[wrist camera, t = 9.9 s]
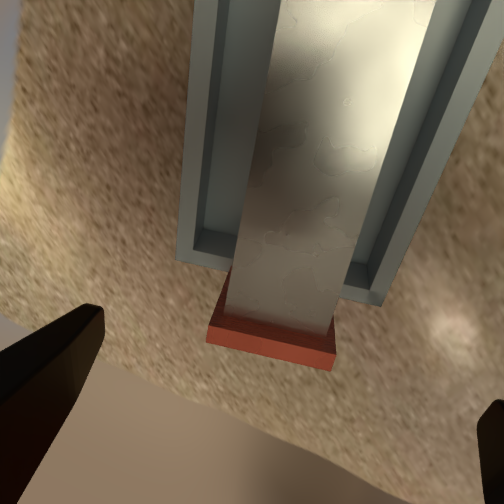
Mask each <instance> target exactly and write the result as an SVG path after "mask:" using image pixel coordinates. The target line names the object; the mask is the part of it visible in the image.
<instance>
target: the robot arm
mask: <svg viewBox="0 0 504 504" xmlns="http://www.w3.org/2000/svg"><path fill="white" fill-rule="evenodd" d="M104 336H105V320H104V309H103V308H102V307H101V306H97V305H93V304H89V303H85V304H82V305H81V306H79V307H77V308H75V309H74V310H72V311H70V312H68V313H67V314H65V315H63V316H61V317H60V318H58V319H56V320H54V321H53V322H51V323H49V324H47V325H46V326H44V327H42V328H40V329H39V330H37V331H35V332H33V333H32V334H30V335H28V336H26V337H25V338H23V339H21V340H20V341H18V342H16V343H14V344H12V345H11V346H9V347H7V348H5V349H4V350H2V351H0V504H17V502H18V501H19V499H20V497H21V495H22V494H23V492H24V490H25V488H26V487H27V485H28V483H29V482H30V480H31V478H32V476H33V475H34V473H35V471H36V470H37V468H38V466H39V465H40V463H41V461H42V459H43V458H44V456H45V454H46V453H47V451H48V449H49V447H50V446H51V444H52V442H53V440H54V439H55V437H56V435H57V434H58V432H59V430H60V428H61V427H62V425H63V423H64V422H65V420H66V418H67V416H68V415H69V413H70V411H71V410H72V408H73V406H74V404H75V402H76V400H77V398H78V396H79V394H80V392H81V390H82V388H83V385H84V383H85V381H86V379H87V376H88V374H89V372H90V370H91V367H92V365H93V363H94V361H95V358H96V356H97V354H98V352H99V349H100V347H101V345H102V342H103V340H104ZM477 438H478V448H479V458H480V467H481V477H482V486H483V494H484V501H485V504H504V400H501V399H497V400H495V401H493V402H492V403H491V405H490V406H489V407H488V409H487V410H486V411H485V412H484V414H483V415H482V416H481V417H480V419H479V421H478V423H477Z"/></svg>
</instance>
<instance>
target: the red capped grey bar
mask: <svg viewBox="0 0 504 504" xmlns="http://www.w3.org/2000/svg"><path fill="white" fill-rule="evenodd" d="M435 3H436V0H281V5H280V10H279V16H278V21H277V27H276V32H275V38H274V43H273V48H272V54H271V59H270V65H269V70H268V75H267V81H266V86H265V92H264V97H263V103H262V108H261V113H260V119H259V124H258V130H257V135H256V140H255V146H254V151H253V157H252V162H251V168H250V173H249V178H248V184H247V189H246V195H245V200H244V205H243V211H242V216H241V222H240V227H239V233H238V238H237V243H236V249H235V254H234V260H233V265H232V266H231V267H230V270H229V272H228V275H227V278H226V280H225V283H224V286H223V288H222V291H221V294H220V296H219V299H218V302H217V304H216V307H215V309H214V312H213V315H212V317H211V320H210V323H209V325H208V331H207V337H206V342H207V343H211V344H215V345H219V346H224V347H228V348H232V349H237V350H241V351H245V352H250V353H254V354H258V355H262V356H267V357H271V358H275V359H280V360H284V361H288V362H292V363H297V364H301V365H305V366H310V367H314V368H318V369H322V370H327V371H331V369H332V366H333V363H334V360H335V357H336V344H335V330H334V316H333V313H334V310H335V307H336V304H337V301H338V298H339V295H340V292H341V289H342V286H343V283H344V280H345V277H346V274H347V271H348V268H349V265H350V261H351V258H352V255H353V252H354V249H355V246H356V243H357V240H358V237H359V234H360V231H361V228H362V225H363V222H364V219H365V216H366V213H367V210H368V207H369V204H370V201H371V198H372V194H373V191H374V188H375V185H376V182H377V179H378V176H379V173H380V170H381V167H382V164H383V161H384V158H385V155H386V152H387V149H388V146H389V143H390V140H391V137H392V134H393V130H394V127H395V124H396V121H397V118H398V115H399V112H400V109H401V106H402V103H403V100H404V97H405V94H406V91H407V88H408V85H409V82H410V79H411V76H412V73H413V70H414V67H415V63H416V60H417V57H418V54H419V51H420V48H421V45H422V42H423V39H424V36H425V33H426V30H427V27H428V24H429V21H430V18H431V15H432V12H433V9H434V6H435Z"/></svg>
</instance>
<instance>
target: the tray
mask: <svg viewBox="0 0 504 504" xmlns="http://www.w3.org/2000/svg"><path fill="white" fill-rule="evenodd" d="M280 5H281V0H195V1H194V15H193V28H192V41H191V55H190V68H189V81H188V95H187V108H186V122H185V135H184V148H183V162H182V175H181V189H180V202H179V215H178V229H177V242H176V256H175V260H177V261H182V262H186V263H191V264H195V265H199V266H204V267H208V268H212V269H217V270H221V271H226V272H229V270H230V267H231V266H232V265H233V260H234V254H235V249H236V243H237V238H238V233H239V227H240V222H241V216H242V211H243V205H244V200H245V195H246V189H247V184H248V178H249V173H250V168H251V162H252V157H253V151H254V146H255V140H256V135H257V130H258V124H259V119H260V113H261V108H262V103H263V97H264V92H265V86H266V81H267V75H268V70H269V65H270V59H271V54H272V48H273V43H274V38H275V32H276V27H277V21H278V16H279V10H280ZM503 38H504V0H436V3H435V6H434V9H433V12H432V15H431V18H430V21H429V24H428V27H427V30H426V33H425V36H424V39H423V42H422V45H421V48H420V51H419V54H418V57H417V60H416V63H415V67H414V70H413V73H412V76H411V79H410V82H409V85H408V88H407V91H406V94H405V97H404V100H403V103H402V106H401V109H400V112H399V115H398V118H397V121H396V124H395V127H394V130H393V134H392V137H391V140H390V143H389V146H388V149H387V152H386V155H385V158H384V161H383V164H382V167H381V170H380V173H379V176H378V179H377V182H376V185H375V188H374V191H373V194H372V198H371V201H370V204H369V207H368V210H367V213H366V216H365V219H364V222H363V225H362V228H361V231H360V234H359V237H358V240H357V243H356V246H355V249H354V252H353V255H352V258H351V261H350V265H349V268H348V271H347V274H346V277H345V280H344V283H343V286H342V289H341V292H340V295H339V298H344V299H348V300H353V301H357V302H361V303H366V304H370V305H374V306H379V307H381V306H382V303H383V301H384V299H385V297H386V295H387V292H388V290H389V288H390V286H391V284H392V281H393V279H394V277H395V275H396V273H397V270H398V268H399V266H400V264H401V262H402V260H403V257H404V255H405V253H406V251H407V249H408V246H409V244H410V242H411V240H412V238H413V235H414V233H415V231H416V229H417V227H418V224H419V222H420V220H421V218H422V216H423V213H424V211H425V209H426V207H427V205H428V202H429V200H430V198H431V196H432V194H433V191H434V189H435V187H436V185H437V183H438V180H439V178H440V176H441V174H442V172H443V169H444V167H445V165H446V163H447V161H448V159H449V156H450V154H451V152H452V150H453V148H454V145H455V143H456V141H457V139H458V137H459V134H460V132H461V130H462V128H463V126H464V123H465V121H466V119H467V117H468V115H469V112H470V110H471V108H472V106H473V104H474V101H475V99H476V97H477V95H478V93H479V90H480V88H481V86H482V84H483V82H484V79H485V77H486V75H487V73H488V71H489V68H490V66H491V64H492V62H493V60H494V58H495V55H496V53H497V51H498V49H499V47H500V44H501V42H502V40H503Z"/></svg>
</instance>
